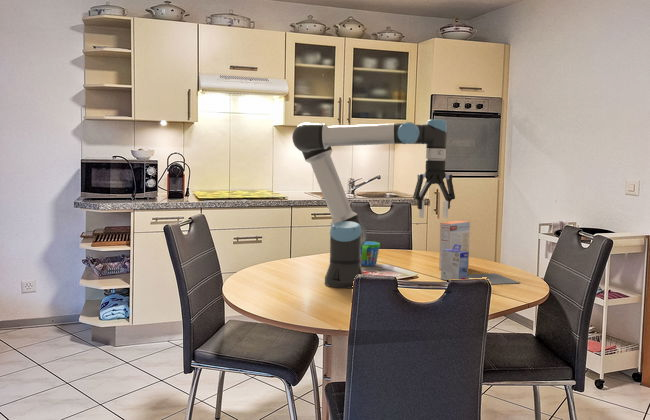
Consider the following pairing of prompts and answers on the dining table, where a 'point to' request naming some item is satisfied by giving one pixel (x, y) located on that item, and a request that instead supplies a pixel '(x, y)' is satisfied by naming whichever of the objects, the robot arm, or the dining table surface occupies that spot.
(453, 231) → the cracker box
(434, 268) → the dining table surface
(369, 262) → the snack cup
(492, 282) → the mat
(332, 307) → the dining table surface
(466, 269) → the ink cartridge box
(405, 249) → the dining table surface
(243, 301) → the dining table surface
